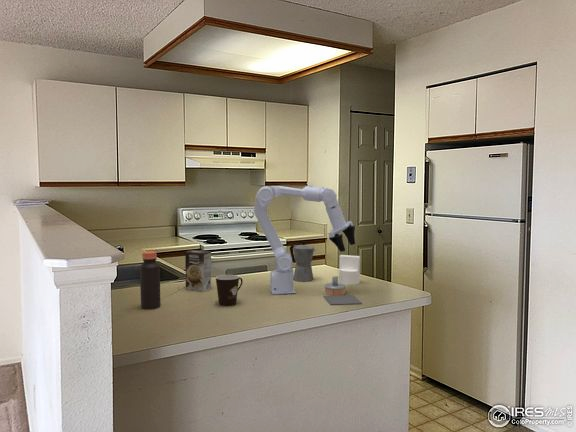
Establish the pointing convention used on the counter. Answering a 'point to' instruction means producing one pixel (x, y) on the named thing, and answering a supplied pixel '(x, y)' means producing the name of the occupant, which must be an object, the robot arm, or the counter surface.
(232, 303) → the coffee mug
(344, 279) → the cylinder with rectangular tab
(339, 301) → the mat
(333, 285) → the lid
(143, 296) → the bottle
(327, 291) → the bowl
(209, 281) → the coffee box
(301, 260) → the coffeepot
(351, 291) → the counter surface
